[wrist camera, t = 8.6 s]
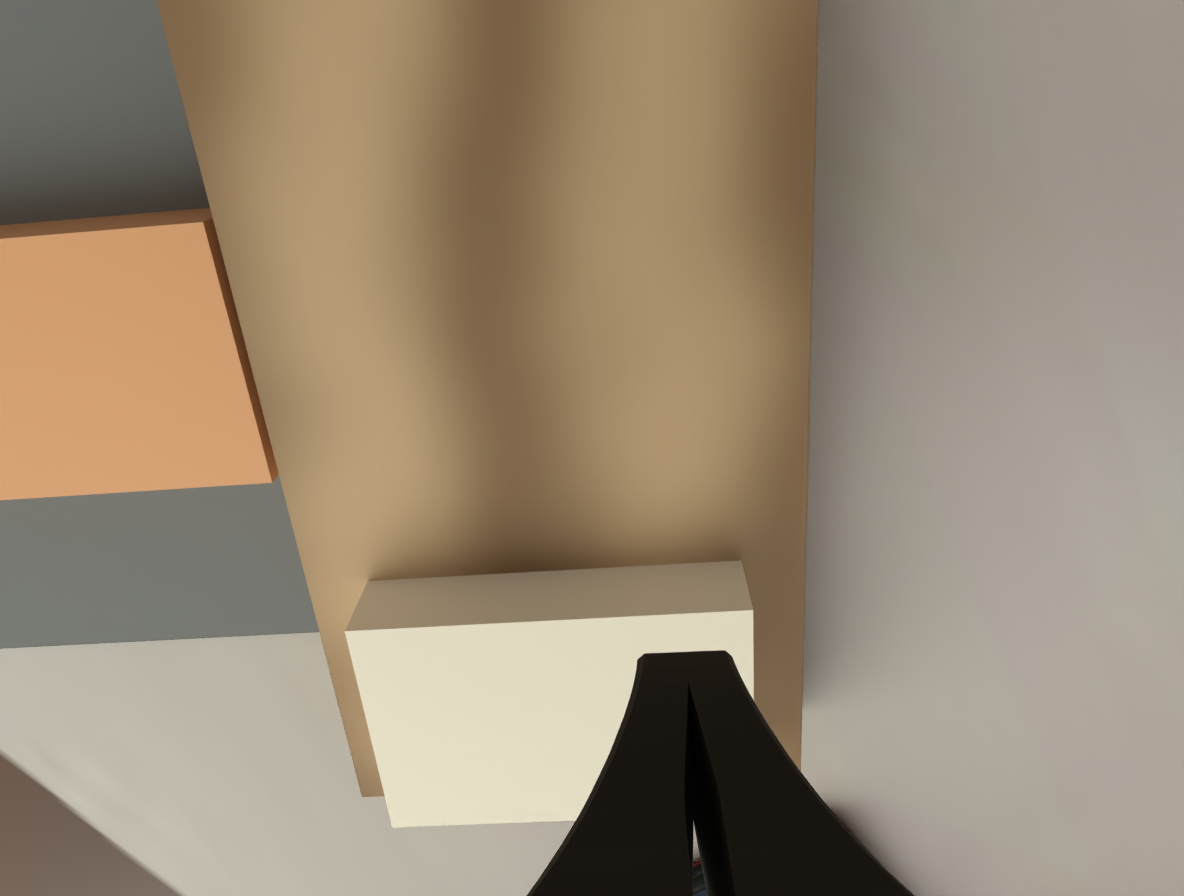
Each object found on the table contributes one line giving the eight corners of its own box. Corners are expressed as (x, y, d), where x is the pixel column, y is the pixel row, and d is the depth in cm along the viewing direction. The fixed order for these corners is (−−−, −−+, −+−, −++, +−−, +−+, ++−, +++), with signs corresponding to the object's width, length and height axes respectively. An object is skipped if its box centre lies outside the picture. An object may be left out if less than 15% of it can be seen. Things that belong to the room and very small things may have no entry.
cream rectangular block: (741, 560, 21) (753, 610, 19) (743, 753, 23) (754, 813, 22) (367, 580, 21) (344, 631, 20) (409, 767, 24) (392, 827, 22)
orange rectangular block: (241, 205, 20) (202, 221, 18) (300, 446, 22) (272, 482, 21) (-139, 236, 20) (-212, 256, 19) (-39, 469, 23) (-95, 506, 21)
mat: (196, -66, 18) (190, -68, 18) (358, 623, 25) (355, 630, 25) (-356, -11, 19) (-371, -11, 18) (-46, 644, 26) (-54, 651, 25)
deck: (795, -188, 17) (823, -222, 15) (784, 714, 26) (800, 779, 24) (183, -124, 17) (118, -148, 15) (383, 732, 27) (362, 796, 24)
